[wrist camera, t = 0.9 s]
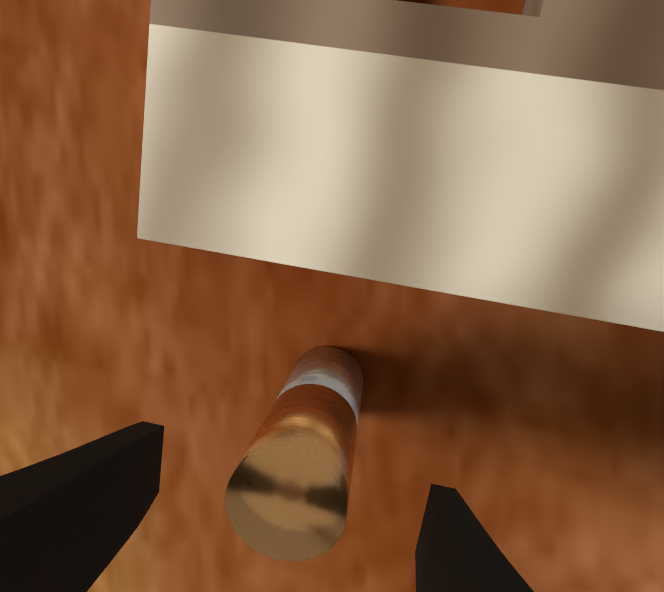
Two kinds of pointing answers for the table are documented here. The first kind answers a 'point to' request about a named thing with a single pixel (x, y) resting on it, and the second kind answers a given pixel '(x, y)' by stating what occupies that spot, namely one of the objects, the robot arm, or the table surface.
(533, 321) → the table surface
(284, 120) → the board
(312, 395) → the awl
